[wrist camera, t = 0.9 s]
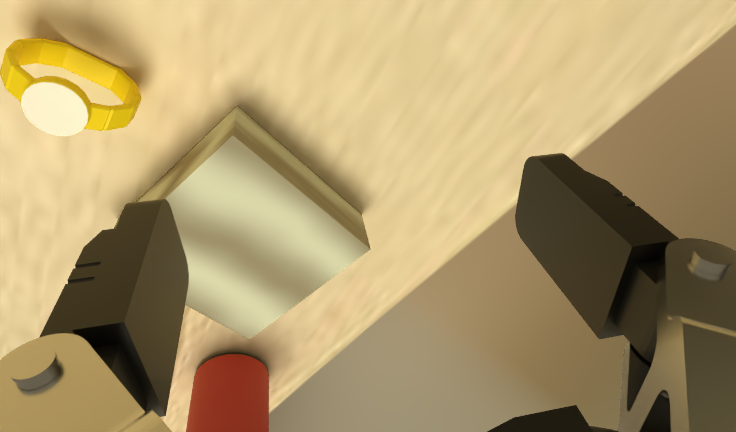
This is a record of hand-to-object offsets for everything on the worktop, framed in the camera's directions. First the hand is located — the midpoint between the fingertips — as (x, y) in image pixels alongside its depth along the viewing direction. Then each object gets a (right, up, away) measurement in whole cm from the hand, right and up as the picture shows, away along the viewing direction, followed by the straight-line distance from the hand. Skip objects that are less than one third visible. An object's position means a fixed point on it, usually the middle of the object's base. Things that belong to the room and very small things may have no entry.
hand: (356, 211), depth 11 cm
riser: (-9, 0, +23) cm, 25 cm away
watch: (-15, +8, +16) cm, 24 cm away
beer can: (-12, -14, +33) cm, 38 cm away
